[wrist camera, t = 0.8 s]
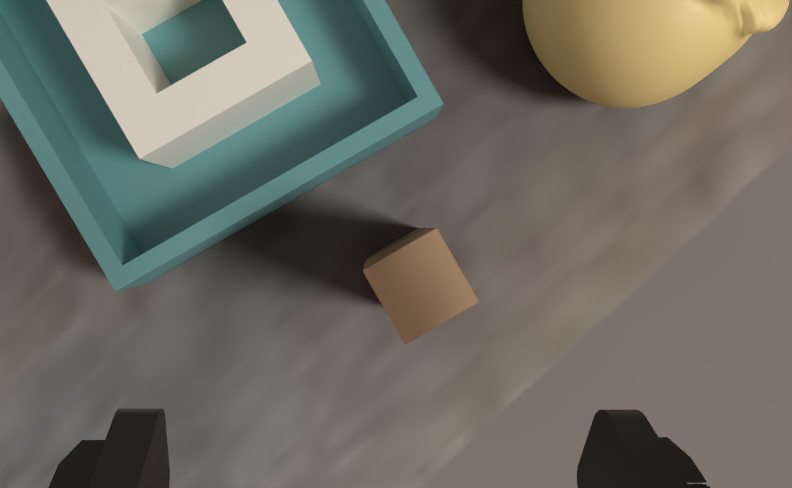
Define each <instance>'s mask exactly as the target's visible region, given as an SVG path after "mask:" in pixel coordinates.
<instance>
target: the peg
mask: <svg viewBox="0 0 792 488" xmlns="http://www.w3.org/2000/svg"><path fill="white" fill-rule="evenodd" d="M363 273H364V274H365V276H366V278H367V280H368V281H369V283H370V285H371V286H372V288H373V290H374V292H375V293H376V295H377V297H378V299H379V300H380V302H381V304H382V306H383V307H384V309H385V311H386V312H387V314H388V316H389V318H390V319H391V321H392V323H393V325H394V326H395V328H396V330H397V332H398V333H399V335H400V337H401V338H402V340H403V342H404V344H407V343H409V342H410V341H412V340H414V339H416V338H417V337H419V336H421V335H423V334H424V333H426V332H428V331H429V330H431V329H433V328H435V327H436V326H438V325H440V324H442V323H443V322H445V321H447V320H449V319H450V318H452V317H454V316H455V315H457V314H459V313H461V312H462V311H464V310H466V309H468V308H469V307H471V306H473V305H474V304H476V303H478V302H479V301H478V300H477V298H476V296H475V294H474V293H473V291H472V289H471V287H470V286H469V284H468V282H467V280H466V279H465V277H464V275H463V273H462V271H461V270H460V268H459V266H458V264H457V263H456V261H455V259H454V257H453V256H452V254H451V252H450V250H449V249H448V247H447V245H446V243H445V242H444V240H443V238H442V236H441V235H440V233H439V231H438V229H437V228H417V229H416V230H414V231H412V232H410V233H409V234H407V235H405V236H403V237H402V238H400V239H398V240H396V241H395V242H393V243H391V244H389V245H388V246H386V247H384V248H383V249H381V250H379V251H377V252H376V253H374V254H372V255H370V256H369V257H367V258H366V261H365V264H364V267H363Z"/></svg>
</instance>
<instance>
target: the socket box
mask: <svg viewBox="0 0 792 488" xmlns="http://www.w3.org/2000/svg"><path fill="white" fill-rule="evenodd" d="M0 98H1V100H2V102H3V103H4V105H5V107H6V108H7V110H8V112H9V113H10V115H11V117H12V118H13V120H14V122H15V123H16V125H17V127H18V129H19V130H20V132H21V134H22V135H23V137H24V139H25V140H26V142H27V144H28V145H29V147H30V149H31V150H32V152H33V154H34V155H35V157H36V159H37V161H38V162H39V164H40V166H41V167H42V169H43V171H44V172H45V174H46V176H47V177H48V179H49V181H50V182H51V184H52V186H53V187H54V189H55V191H56V193H57V194H58V196H59V198H60V199H61V201H62V203H63V204H64V206H65V208H66V209H67V211H68V213H69V214H70V216H71V218H72V219H73V221H74V223H75V225H76V226H77V228H78V230H79V231H80V233H81V235H82V236H83V238H84V240H85V241H86V243H87V245H88V246H89V248H90V250H91V252H92V253H93V255H94V257H95V258H96V260H97V262H98V263H99V265H100V267H101V268H102V270H103V272H104V273H105V275H106V277H107V278H108V280H109V282H110V284H111V285H112V287H113V289H114V290H115V292H116V291H120V290H124V289H128V288H132V287H136V286H140V285H144V284H147V283H148V282H150V281H152V280H154V279H155V278H157V277H159V276H161V275H162V274H164V273H166V272H168V271H169V270H171V269H173V268H174V267H176V266H178V265H180V264H181V263H183V262H185V261H187V260H188V259H190V258H192V257H194V256H195V255H197V254H199V253H201V252H202V251H204V250H206V249H208V248H209V247H211V246H213V245H215V244H216V243H218V242H220V241H222V240H223V239H225V238H227V237H229V236H230V235H232V234H234V233H236V232H237V231H239V230H241V229H243V228H244V227H246V226H248V225H250V224H251V223H253V222H255V221H257V220H258V219H260V218H262V217H264V216H265V215H267V214H269V213H271V212H272V211H274V210H276V209H278V208H279V207H281V206H283V205H285V204H286V203H288V202H290V201H292V200H293V199H295V198H297V197H299V196H300V195H302V194H304V193H306V192H307V191H309V190H311V189H313V188H314V187H316V186H318V185H320V184H321V183H323V182H325V181H327V180H328V179H330V178H332V177H334V176H335V175H337V174H339V173H341V172H342V171H344V170H346V169H348V168H349V167H351V166H353V165H355V164H356V163H358V162H360V161H362V160H363V159H365V158H367V157H369V156H370V155H372V154H374V153H376V152H377V151H379V150H381V149H383V148H384V147H386V146H388V145H390V144H391V143H393V142H395V141H397V140H398V139H400V138H402V137H404V136H405V135H407V134H409V133H411V132H412V131H414V130H416V129H418V128H419V127H421V126H423V125H425V124H426V123H428V122H430V121H432V120H433V119H435V118H436V117H437V115H438V113H439V111H440V109H441V108H442V106H443V102H442V100H441V98H440V97H439V95H438V93H437V91H436V90H435V88H434V86H433V84H432V83H431V81H430V79H429V77H428V76H427V74H426V72H425V70H424V68H423V67H422V65H421V63H420V61H419V60H418V58H417V56H416V54H415V53H414V51H413V49H412V47H411V45H410V44H409V42H408V40H407V38H406V37H405V35H404V33H403V31H402V30H401V28H400V26H399V24H398V23H397V21H396V19H395V17H394V15H393V14H392V12H391V10H390V8H389V7H388V5H387V3H386V1H385V0H0Z"/></svg>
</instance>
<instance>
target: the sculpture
mask: <svg viewBox="0 0 792 488" xmlns="http://www.w3.org/2000/svg"><path fill="white" fill-rule="evenodd" d="M522 5H523V17H524V23H525V28H526V31H527V35H528V37H529V40H530V43H531V45H532V47H533V49H534V51H535V53H536V55H537V57H538V58H539V60H540V61H541V63H542V64H543V66H544V67H545V68H546V70H547V71H548V72H549V73H550V74H551V75H552V76H553V77H554V78H555V79H556V80H557V81H558V82H559V83H560V84H561V85H563V86H564V87H565V88H566V89H568V90H569V91H571V92H572V93H574V94H576V95H577V96H579V97H581V98H583V99H585V100H588V101H590V102H593V103H596V104H599V105H603V106H607V107H614V108H636V107H643V106H648V105H652V104H656V103H659V102H662V101H664V100H667V99H669V98H672V97H674V96H676V95H678V94H680V93H682V92H683V91H685V90H687V89H689V88H690V87H692V86H693V85H695V84H696V83H698V82H699V81H700V80H702V79H703V78H704V77H706V76H707V75H708V74H709V73H711V72H712V71H713V70H715V69H716V68H717V67H719V66H720V65H721V64H722V63H724V62H725V61H726V60H727V59H728V58H730V57H731V56H732V55H733V54H734V53H735V52H736V51H737V50H738V49H739V48H740V47H741V46H742V45H743V44H744V43H745V42H746V41H747V40H748V38H749V37H750V36H751V35H752V34H753V33H761V32H766V31H768V30H770V29H772V28H774V27H775V26H776V25H777V24H778V23H779V22H780V21H781V19H782V18H783V16H784V14H785V12H786V10H787V8H788V5H789V0H523V1H522Z"/></svg>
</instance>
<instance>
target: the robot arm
mask: <svg viewBox="0 0 792 488" xmlns="http://www.w3.org/2000/svg"><path fill="white" fill-rule="evenodd" d="M169 480H170V470H169V457H168V445H167V433H166V421H165V413H164V410H163V409H118V410H117V411H116V413H115V415H114V418H113V420H112V423H111V426H110V429H109V432H108V434H107V437H106V440H82V441H81V442H80V443H79V444H78V445H77V446H76V447H75V448H74V449H73V450H72V451H71V452H70V453H69V454H68V455H67V456H66V457H65V458H64V459H63V460H62V461H61V462H60V463H59V465H58V467H57V469H56V472H55V474H54V476H53V479H52V481H51V483H50V486H49V488H169ZM577 485H578V488H710V487H709V486H707V485H706V480H705V479H704V477H703V476H702V474H701V473H700V471H699V470H698V468H697V467H696V465H695V463H694V462H693V460H692V459H691V458H690V457H689V456H688V455H687V454H686V453H685V452H684V451H682V450H681V449H680V448H679V447H678V446H677V445H676V444H674V443H673V442H672V441H671V440H670V439H668V437H663V438H662V437H658V436H657V434H656V433H655V431H654V430H653V428H652V426H651V425H650V423H649V422H648V420H647V418H646V417H645V415H644V414H643V413H642V412H640V411H639V410H599V411H598V412H597V413H596V414H595V416H594V419H593V422H592V425H591V428H590V431H589V434H588V437H587V440H586V443H585V446H584V449H583V452H582V455H581V458H580V462H579V465H578V470H577Z"/></svg>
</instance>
